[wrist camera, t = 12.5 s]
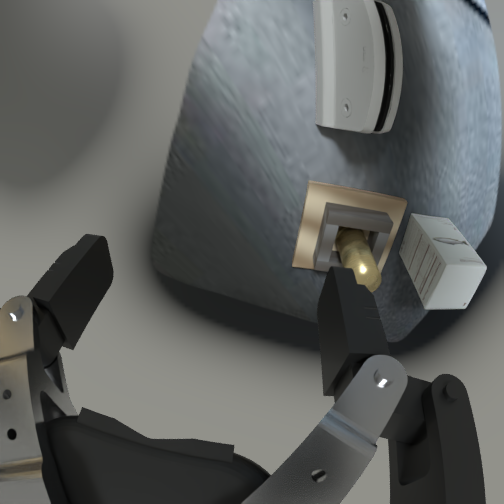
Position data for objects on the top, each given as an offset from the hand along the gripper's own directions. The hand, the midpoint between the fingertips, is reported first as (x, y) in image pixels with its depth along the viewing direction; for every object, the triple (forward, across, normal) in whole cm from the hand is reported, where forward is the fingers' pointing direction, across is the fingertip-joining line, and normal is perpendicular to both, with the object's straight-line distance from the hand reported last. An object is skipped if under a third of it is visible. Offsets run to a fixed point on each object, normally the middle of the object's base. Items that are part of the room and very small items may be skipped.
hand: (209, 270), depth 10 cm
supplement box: (+28, -26, +12) cm, 40 cm away
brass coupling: (+27, -14, +13) cm, 33 cm away
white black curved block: (+28, -9, -9) cm, 31 cm away
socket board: (+28, -14, +13) cm, 34 cm away
